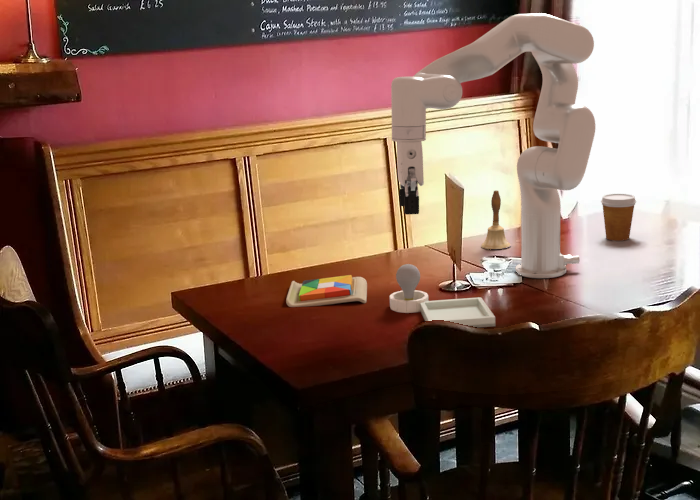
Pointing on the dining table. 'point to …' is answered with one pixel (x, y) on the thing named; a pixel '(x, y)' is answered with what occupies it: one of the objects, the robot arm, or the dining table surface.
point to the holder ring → (407, 306)
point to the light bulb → (408, 280)
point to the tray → (459, 311)
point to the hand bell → (495, 228)
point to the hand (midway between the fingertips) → (409, 209)
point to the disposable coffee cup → (618, 215)
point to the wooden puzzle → (327, 291)
